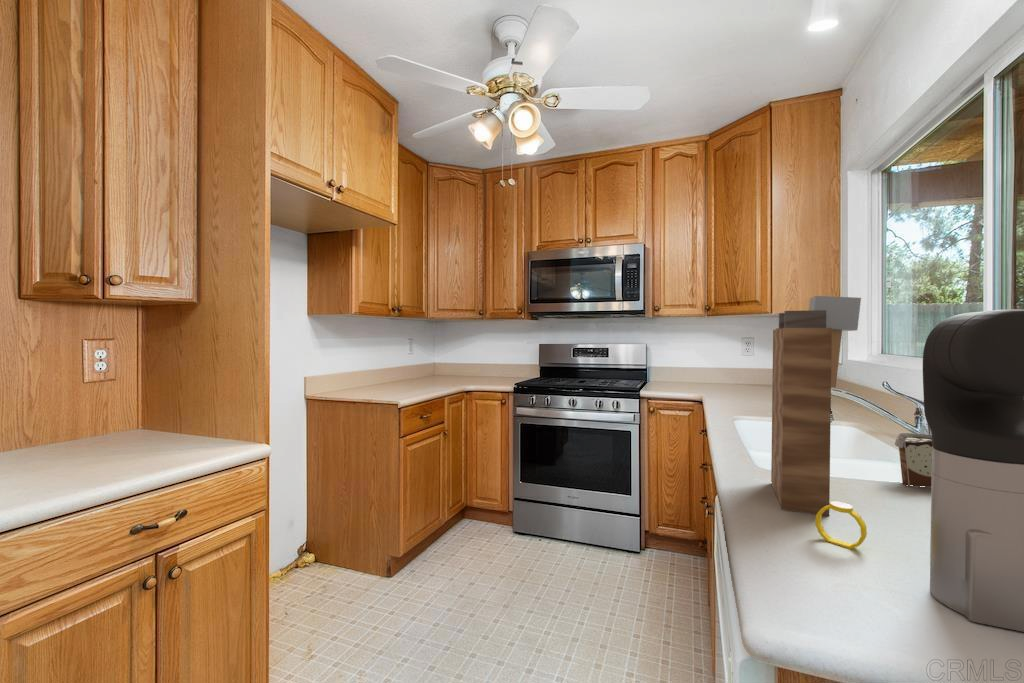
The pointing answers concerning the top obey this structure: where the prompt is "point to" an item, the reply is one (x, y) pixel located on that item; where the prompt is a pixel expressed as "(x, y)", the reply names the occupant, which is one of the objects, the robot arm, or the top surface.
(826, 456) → the stand
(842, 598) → the top surface
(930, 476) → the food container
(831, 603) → the top surface
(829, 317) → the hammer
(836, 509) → the watch
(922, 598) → the top surface
